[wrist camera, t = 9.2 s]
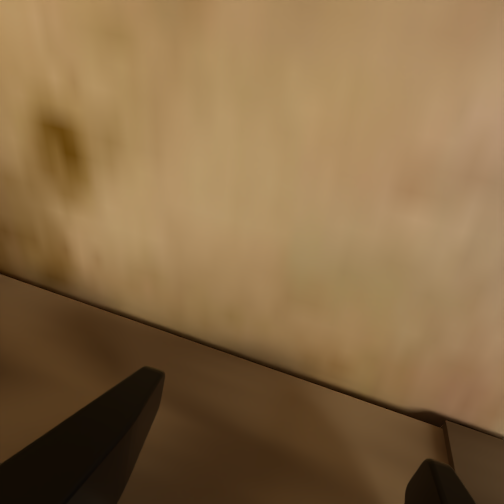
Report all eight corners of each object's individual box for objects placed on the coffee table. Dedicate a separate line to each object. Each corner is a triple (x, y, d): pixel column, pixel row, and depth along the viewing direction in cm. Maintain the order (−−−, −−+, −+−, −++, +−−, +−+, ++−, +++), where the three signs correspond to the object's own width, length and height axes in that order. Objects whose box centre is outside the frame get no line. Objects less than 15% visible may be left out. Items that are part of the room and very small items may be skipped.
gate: (-108, 287, 14) (-399, 438, 8) (-126, 213, 12) (-481, 339, 7) (483, 503, 11) (573, 883, 6) (536, 441, 10) (702, 854, 5)
